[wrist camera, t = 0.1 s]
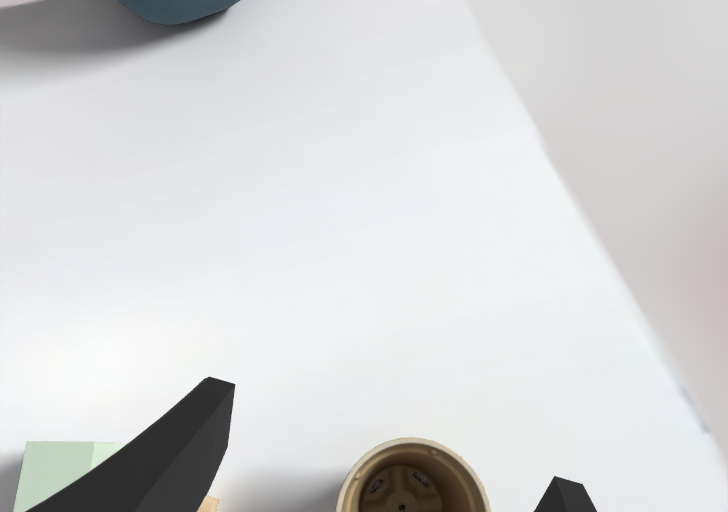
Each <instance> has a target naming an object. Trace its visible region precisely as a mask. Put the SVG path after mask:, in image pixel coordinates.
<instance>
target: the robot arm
mask: <svg viewBox="0 0 728 512" xmlns="http://www.w3.org/2000/svg"><path fill="white" fill-rule="evenodd" d="M234 391H235V384H233V383H230V382H226V381H223V380H219V379H216V378H212V377H208V378H205V379H204V380H203V381H202V382H200V383H199V384H198V385H197V386H196V387H195V388H194V389H193V390H192V391H191V392H190V393H189V394H187V395H186V396H185V397H184V398H183V399H182V400H181V401H180V402H178V403H177V404H176V405H175V406H174V407H173V408H171V409H170V410H169V411H168V412H167V413H166V414H164V415H163V416H162V417H161V418H160V419H158V420H157V421H156V422H155V423H153V424H152V425H151V426H150V427H148V428H147V429H146V430H145V431H143V432H142V433H141V434H140V435H138V436H137V437H136V438H135V439H133V440H132V441H131V442H129V443H128V444H127V445H125V446H124V447H123V448H121V449H120V450H119V451H117V452H116V453H114V454H113V455H112V456H110V457H109V458H107V459H106V460H105V461H103V462H102V463H101V464H99V465H98V466H96V467H95V468H94V469H92V470H91V471H89V472H88V473H86V474H85V475H83V476H82V477H80V478H79V479H77V480H76V481H74V482H73V483H71V484H70V485H68V486H67V487H65V488H63V489H62V490H60V491H59V492H57V493H55V494H54V495H52V496H51V497H49V498H47V499H46V500H44V501H42V502H41V503H39V504H37V505H35V506H34V507H32V508H30V509H28V510H27V511H25V512H197V511H198V509H199V507H200V505H201V504H202V502H203V500H204V498H205V496H206V495H207V493H208V491H209V489H210V487H211V484H212V482H213V480H214V477H215V475H216V473H217V471H218V468H219V466H220V464H221V461H222V459H223V456H224V454H225V452H226V449H227V447H228V439H229V431H230V423H231V415H232V407H233V399H234ZM534 512H597V511H596V509H595V507H594V505H593V503H592V501H591V499H590V497H589V495H588V494H587V492H586V490H585V488H584V486H583V484H580V483H577V482H573V481H570V480H566V479H563V478H559V477H556V476H554V478H553V480H552V481H551V483H550V485H549V487H548V488H547V490H546V492H545V494H544V495H543V497H542V499H541V501H540V502H539V504H538V506H537V507H536V509H535V511H534Z"/></svg>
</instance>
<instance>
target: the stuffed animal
mask: <svg viewBox="0 0 728 512" xmlns="http://www.w3.org/2000/svg"><path fill="white" fill-rule="evenodd" d="M118 1H119V2H120V3H122V4H123V5H124V6H126V7H127V8H128V9H130V10H131V11H132V12H134V13H135V14H137V15H138V16H139V17H141V18H143V19H145V20H147V21H149V22H152V23H158V24H163V25H175V24H182V23H186V22H190V21H193V20H196V19H199V18H202V17H205V16H208V15H211V14H214V13H217V12H220V11H222V10H224V9H227V8H229V7H231V6H232V5H234V4H236V3H237V2H239V1H240V0H118Z"/></svg>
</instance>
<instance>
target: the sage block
mask: <svg viewBox="0 0 728 512" xmlns="http://www.w3.org/2000/svg"><path fill="white" fill-rule="evenodd" d="M121 448H122V443H110V442H37V441H27V443H26V448H25V454H24V459H23V464H22V469H21V474H20V479H19V484H18V489H17V495H16V500H15V505H14V510H13V512H25V511H27V510H28V509H30V508H32V507H34V506H35V505H37V504H39V503H41V502H42V501H44V500H46V499H47V498H49V497H51V496H52V495H54V494H55V493H57V492H59V491H60V490H62V489H63V488H65V487H67V486H68V485H70V484H71V483H73V482H74V481H76V480H77V479H79V478H80V477H82V476H83V475H85V474H86V473H88V472H89V471H91V470H92V469H94V468H95V467H96V466H98V465H99V464H101V463H102V462H103V461H105V460H106V459H107V458H109V457H110V456H112V455H113V454H114V453H116V452H117V451H119V450H120V449H121Z"/></svg>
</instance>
